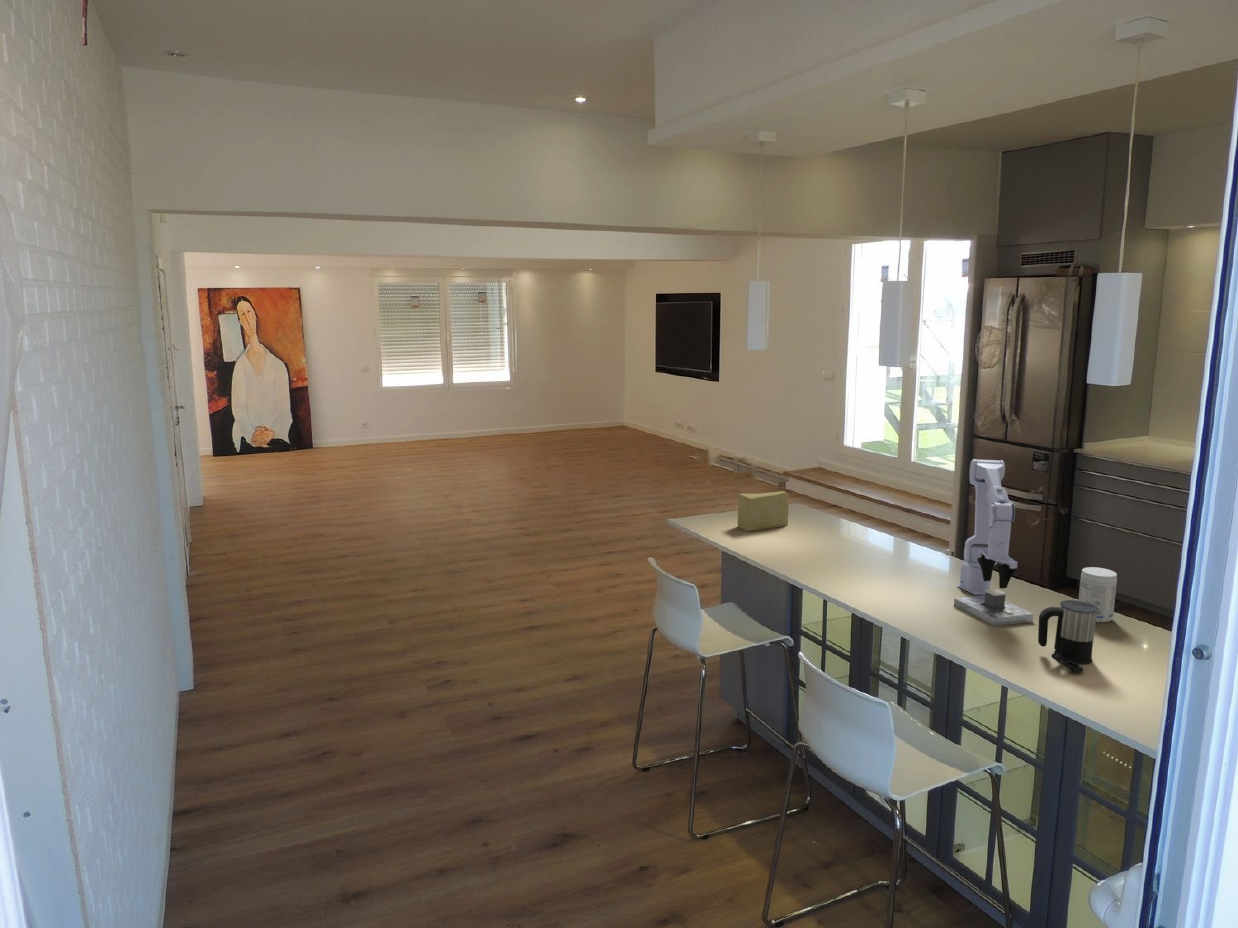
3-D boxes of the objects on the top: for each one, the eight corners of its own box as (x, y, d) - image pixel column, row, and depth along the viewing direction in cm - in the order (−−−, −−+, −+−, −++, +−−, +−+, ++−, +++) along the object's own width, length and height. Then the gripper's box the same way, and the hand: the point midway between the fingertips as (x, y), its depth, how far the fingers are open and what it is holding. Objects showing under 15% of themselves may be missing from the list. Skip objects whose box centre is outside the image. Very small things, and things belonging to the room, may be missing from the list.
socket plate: (953, 605, 265) (954, 596, 264) (990, 601, 269) (991, 592, 268) (993, 626, 248) (994, 616, 247) (1032, 621, 252) (1033, 611, 251)
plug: (983, 610, 260) (985, 590, 258) (994, 608, 261) (996, 588, 260) (992, 614, 256) (994, 594, 255) (1003, 613, 257) (1005, 593, 256)
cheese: (781, 522, 366) (782, 489, 364) (793, 527, 358) (794, 493, 355) (736, 526, 359) (737, 492, 356) (747, 532, 350) (748, 497, 347)
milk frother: (1080, 650, 231) (1086, 599, 228) (1115, 675, 215) (1122, 620, 212) (1029, 651, 230) (1034, 599, 228) (1061, 675, 215) (1066, 621, 212)
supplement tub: (1095, 610, 261) (1100, 565, 258) (1120, 621, 252) (1125, 575, 249) (1069, 613, 259) (1074, 567, 256) (1093, 624, 250) (1099, 577, 247)
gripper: (971, 536, 260) (968, 578, 262) (1005, 548, 246) (1000, 593, 249) (990, 534, 262) (987, 576, 264) (1024, 547, 248) (1020, 591, 250)
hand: (994, 584), depth 257 cm, fingers open, 6 cm apart
